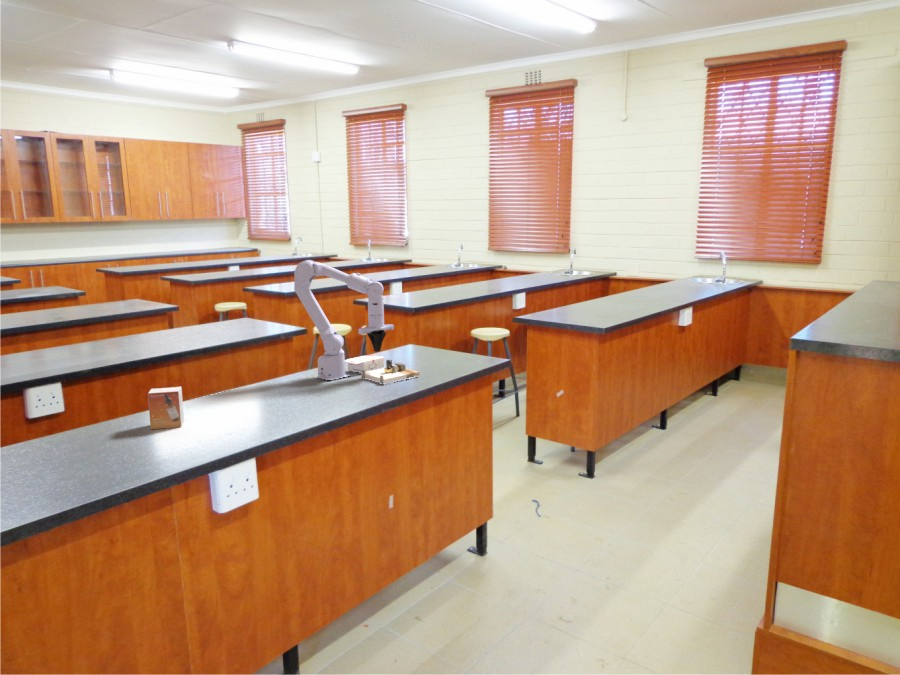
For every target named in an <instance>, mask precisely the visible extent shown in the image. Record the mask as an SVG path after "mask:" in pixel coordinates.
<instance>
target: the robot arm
mask: <svg viewBox="0 0 900 675" xmlns="http://www.w3.org/2000/svg"><path fill="white" fill-rule="evenodd" d="M361 274H362V273H359V272H357V273H355V272H352V273H351V274H348V273H346V272H344V271H341V270H339V269H337V268H334V267H332V266H330V265H328V264H325V263H322V262H319V261H315V260H313V259H306V260H303V261H300V262H299V263H298V264H297V265H296V267H295V269H294V272H293V275H294V288H293V289H294V292H295V294H296V295H297V297H298V299H299V300H300V302H301V304H302V305H303V307H304V309H305V311H306V312H307V314H308V316H309V318H310V319H311V321H312V322H313V324H314V326H315V327H316V329H317V331H318V333H319V335H320V339H321V342H322V344H323V349H324V354H323V355H320V356H319V357H318V358H317V376H316V377H317V378H318V377H320V378H319V379H321V378H323V379H322V380H324V379H325V381H327V380H331V381H335V380H334V379H336V380H339V378H341V379H344V378H343V377H345V378H349V377H348V376H350V377H351V375H350V374H347V373H346V362H345V360H346V359H345V351H344V349H343V347H344V344H345V340H344V336H342V335H341V334H340V333H339V332H338V331H337V330H336V329H335V328H334V327H333V326H332V324H331V323H330V321H329V319H328V318H327V316H326V314H325V312H324V311H323V309H322V307H321V305H320V304H319V302H318V300H317V299H316V297H315V295H314V293H313V292H312V290H311V285H312V282H313V280H314V278H315V277H323V276H326V277H329V278H332V279H333V280H337V281H338V282H339V281H340V282H342V283H345V285H346V286H347V288H348V289H350V290H353V291H356V292H359V293H361V294H364V295H366V294H367V300H368V302H367V319H368V323H367V324H368V325H367V326H364V327H361V328H358V335H367V336H368V338H369V340H370V342H371V345H372V348H373V352H375V353H378V352H381V349H382V345H383V341H384V339H385V337H386V336H387V331H393V330H395V325H394V324H392V323H390V324H389V323H388V324H385V308H384V307H385V304H384V295H383V294H384V291H385V290H384V286H383V284H382V282H379V281H378V280H374V278H369V277H368V278H367V277H365V276H362V275H361Z"/></svg>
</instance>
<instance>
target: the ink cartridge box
mask: <svg viewBox="0 0 900 675" xmlns="http://www.w3.org/2000/svg"><path fill="white" fill-rule="evenodd" d="M345 363H347V371H348V370H350V371H354V372H353V373H355V372H360V373H362V370H365V372H367V371H372V370H375V369H378V368H382V367H384V368H385V356H379V355H374V354H366V355H360V356H356V357H353V358H347V359H345ZM350 371H349V372H350Z"/></svg>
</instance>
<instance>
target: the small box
mask: <svg viewBox="0 0 900 675" xmlns="http://www.w3.org/2000/svg"><path fill="white" fill-rule="evenodd" d="M183 400H184V399H183V388H182V386H176V387H175V386H171V387H160V388H158V387H157V388H156V387H155V388H151V389H150V390H149V391H148V393H147V403H148V411H149V424H150V430H158V429H159V430H160V429H177V428H182V426H183V424H184V422H185V415H184V402H183Z"/></svg>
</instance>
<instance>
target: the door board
mask: <svg viewBox="0 0 900 675" xmlns="http://www.w3.org/2000/svg"><path fill="white" fill-rule="evenodd" d="M392 367H394V372H389V373H387V372H384V369H385V368H386V367H384V368H381V369H377V370H372V371H367V372H365V370H362V373H361V374H360V378H361V377H362V378H368V379H371V380H374V381H378V382H380V383H388V382H392V381H396V380H400V379H405V378H407V375H406V374H403V373H399V372H398V366H396V365H395V364H392ZM362 378H361V379H362ZM380 383H379V384H380Z"/></svg>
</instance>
